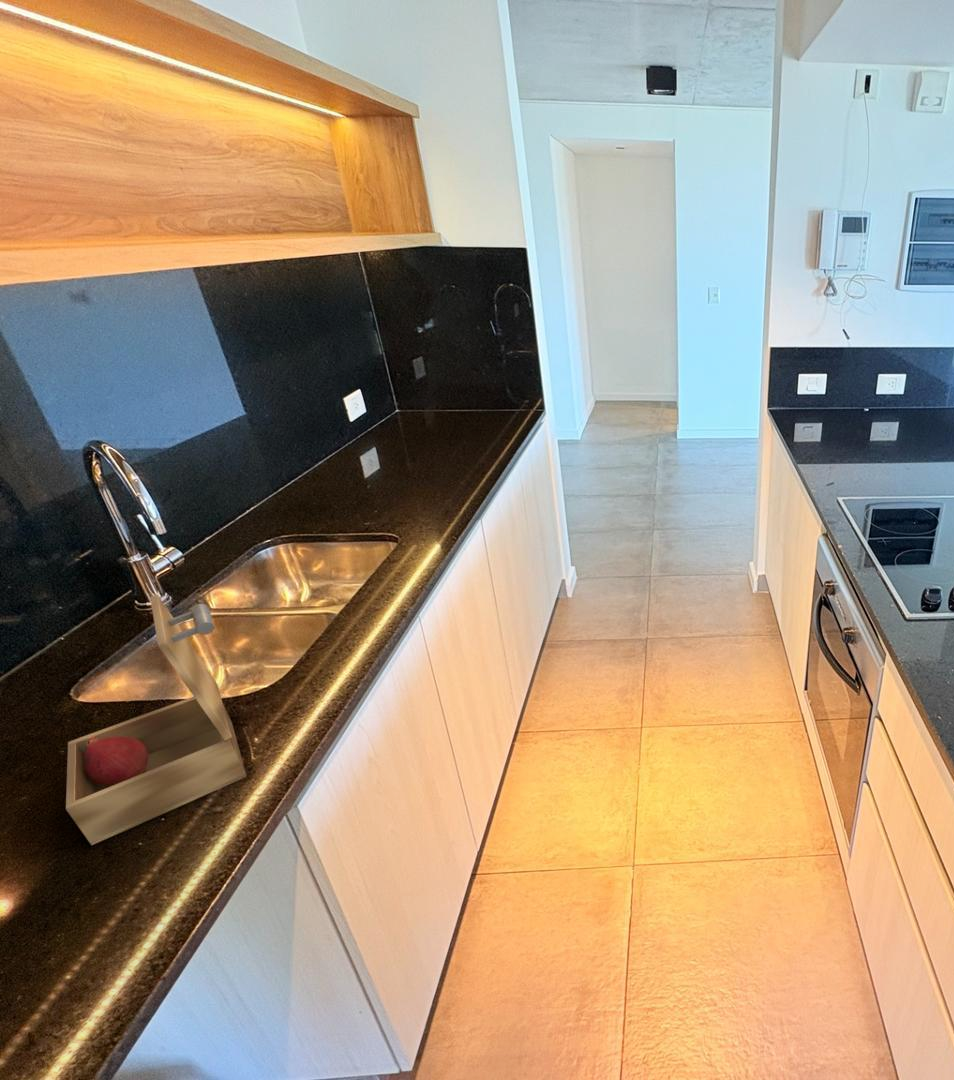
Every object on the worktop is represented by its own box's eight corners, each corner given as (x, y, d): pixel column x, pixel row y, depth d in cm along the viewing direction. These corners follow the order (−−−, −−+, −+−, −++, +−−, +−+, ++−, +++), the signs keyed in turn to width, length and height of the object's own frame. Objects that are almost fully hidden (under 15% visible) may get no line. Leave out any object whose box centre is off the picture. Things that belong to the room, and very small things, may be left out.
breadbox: (92, 847, 74) (65, 809, 71) (91, 778, 83) (67, 741, 80) (247, 778, 84) (229, 741, 80) (232, 723, 92) (215, 688, 89)
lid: (157, 645, 71) (209, 625, 74) (149, 596, 80) (196, 580, 83) (224, 740, 80) (268, 719, 83) (211, 687, 89) (251, 670, 92)
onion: (125, 791, 77) (65, 752, 75) (114, 801, 80) (57, 764, 78) (169, 754, 82) (115, 716, 80) (158, 765, 85) (105, 728, 83)
